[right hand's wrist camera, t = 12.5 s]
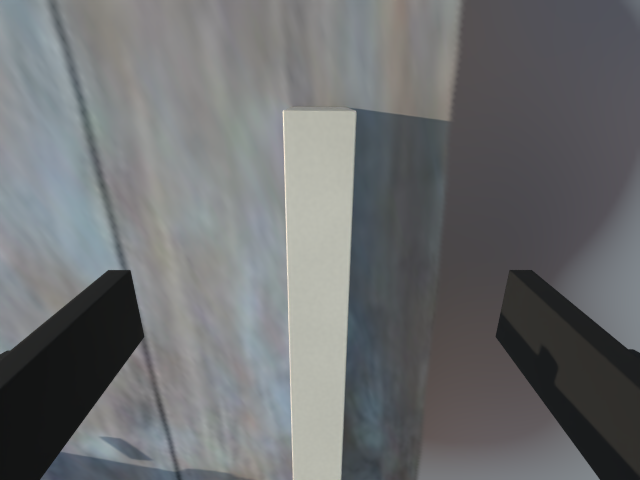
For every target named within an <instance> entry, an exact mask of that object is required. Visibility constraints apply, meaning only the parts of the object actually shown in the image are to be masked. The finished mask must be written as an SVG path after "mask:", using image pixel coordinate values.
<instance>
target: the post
mask: <svg viewBox="0 0 640 480" xmlns="http://www.w3.org/2000/svg"><path fill="white" fill-rule="evenodd" d="M356 118H357V112H356V111H355V110H352V109H350V108H347V107H291V108H289V109H286V110H284V111H283V133H284V169H285V205H286V241H287V277H288V314H289V350H290V386H291V422H292V459H293V480H341V477H342V453H343V429H344V405H345V381H346V357H347V333H348V309H349V285H350V261H351V237H352V214H353V190H354V166H355V142H356Z"/></svg>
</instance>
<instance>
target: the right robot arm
mask: <svg viewBox="0 0 640 480" xmlns="http://www.w3.org/2000/svg"><path fill="white" fill-rule="evenodd" d="M143 338H144V333H143V328H142V323H141V318H140V314H139V309H138V304H137V299H136V295H135V290H134V285H133V280H132V275H131V271H130V270H108V271H107V272H105V273H104V274H103V275H102V276H101V277H99V278H98V279H97V280H96V281H95V282H93V283H92V284H91V285H90V286H88V287H87V288H86V289H85V290H84V291H82V292H81V293H80V294H79V295H78V296H76V297H75V298H74V299H73V300H71V301H70V302H69V303H68V304H67V305H65V306H64V307H63V308H62V309H60V310H59V311H58V312H57V313H56V314H54V315H53V316H52V317H51V318H50V319H48V320H47V321H46V322H45V323H43V324H42V325H41V326H40V327H39V328H37V329H36V330H35V331H34V332H32V333H31V334H30V335H29V336H28V337H26V338H25V339H24V340H23V341H22V342H20V343H19V344H18V345H17V346H15V347H14V348H13V349H12V350H11V351H6V352H4V353H2V354H0V480H40V479H41V477H42V476H43V475H44V473H45V472H46V471H47V469H48V468H49V466H50V465H51V464H52V462H53V461H54V460H55V458H56V457H57V456H58V454H59V453H60V451H61V450H62V449H63V447H64V446H65V445H66V443H67V442H68V440H69V439H70V438H71V436H72V435H73V434H74V432H75V431H76V430H77V428H78V427H79V425H80V424H81V423H82V421H83V420H84V419H85V417H86V416H87V414H88V413H89V412H90V410H91V409H92V408H93V406H94V405H95V404H96V402H97V401H98V399H99V398H100V397H101V395H102V394H103V393H104V391H105V390H106V388H107V387H108V386H109V384H110V383H111V382H112V380H113V379H114V378H115V376H116V375H117V373H118V372H119V371H120V369H121V368H122V367H123V365H124V364H125V362H126V361H127V360H128V358H129V357H130V356H131V354H132V353H133V352H134V350H135V349H136V347H137V346H138V345H139V343H140V342H141V341H142V339H143ZM496 338H497V339H498V341H499V342H500V343H501V345H502V346H503V347H504V349H505V350H506V352H507V353H508V354H509V356H510V357H511V358H512V360H513V361H514V362H515V364H516V365H517V367H518V368H519V369H520V371H521V372H522V373H523V375H524V376H525V378H526V379H527V380H528V382H529V383H530V384H531V386H532V387H533V388H534V390H535V391H536V393H537V394H538V395H539V397H540V398H541V399H542V401H543V402H544V404H545V405H546V406H547V408H548V409H549V410H550V412H551V413H552V414H553V416H554V417H555V419H556V420H557V421H558V423H559V424H560V425H561V427H562V428H563V430H564V431H565V432H566V434H567V435H568V436H569V438H570V439H571V440H572V442H573V443H574V445H575V446H576V447H577V449H578V450H579V451H580V453H581V454H582V456H583V457H584V458H585V460H586V461H587V462H588V464H589V465H590V466H591V468H592V469H593V471H594V472H595V473H596V475H597V476H598V477H599V479H600V480H640V353H639V352H637V351H635V350H633V349H627V348H626V347H625V346H623V345H622V344H621V343H620V342H618V341H617V340H616V339H615V338H614V337H612V336H611V335H610V334H609V333H607V332H606V331H605V330H604V329H603V328H601V327H600V326H599V325H598V324H597V323H595V322H594V321H593V320H592V319H590V318H589V317H588V316H587V315H586V314H584V313H583V312H582V311H581V310H579V309H578V308H577V307H576V306H575V305H573V304H572V303H571V302H570V301H569V300H567V299H566V298H565V297H564V296H562V295H561V294H560V293H559V292H558V291H556V290H555V289H554V288H553V287H552V286H550V285H549V284H548V283H547V282H545V281H544V280H543V279H542V278H541V277H539V276H538V275H537V274H536V273H534V272H533V271H532V270H510V271H509V276H508V280H507V285H506V290H505V295H504V300H503V304H502V309H501V314H500V319H499V323H498V328H497V333H496Z"/></svg>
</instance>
